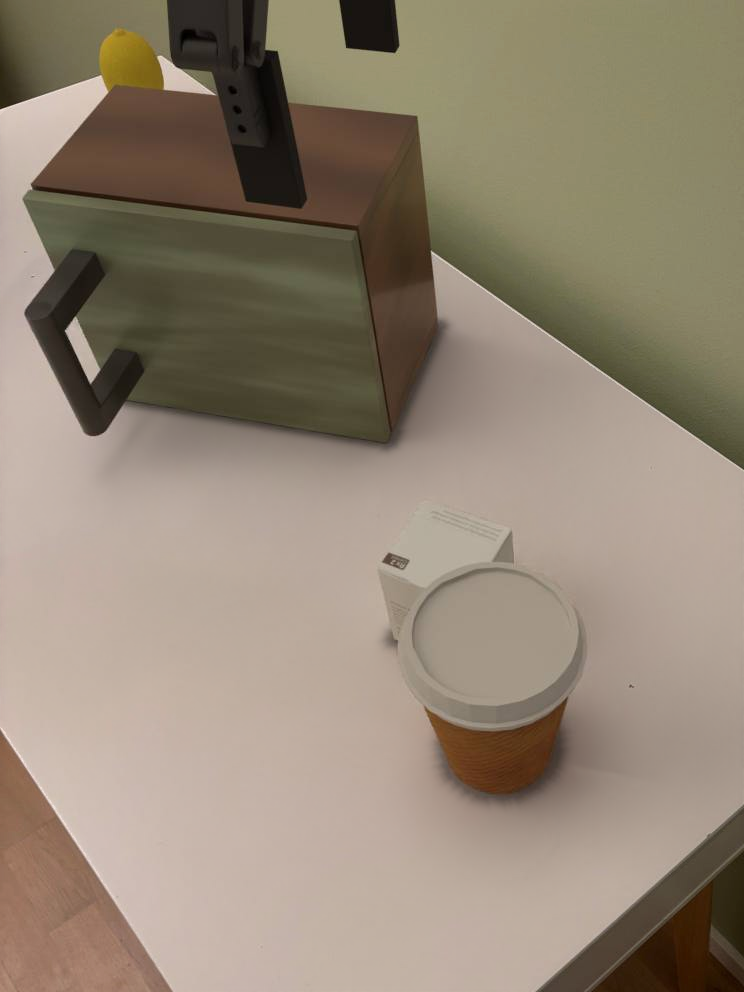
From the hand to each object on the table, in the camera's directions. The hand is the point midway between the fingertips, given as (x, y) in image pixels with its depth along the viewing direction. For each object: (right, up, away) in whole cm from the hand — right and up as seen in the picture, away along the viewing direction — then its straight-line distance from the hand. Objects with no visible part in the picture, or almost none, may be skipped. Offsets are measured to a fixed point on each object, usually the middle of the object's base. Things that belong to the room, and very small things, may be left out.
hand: (328, 119), depth 50 cm
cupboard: (-8, -3, +30) cm, 31 cm away
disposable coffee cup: (+9, -32, +11) cm, 34 cm away
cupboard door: (-11, -11, +25) cm, 29 cm away
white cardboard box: (+6, -24, +16) cm, 29 cm away
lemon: (-25, +26, +51) cm, 62 cm away
